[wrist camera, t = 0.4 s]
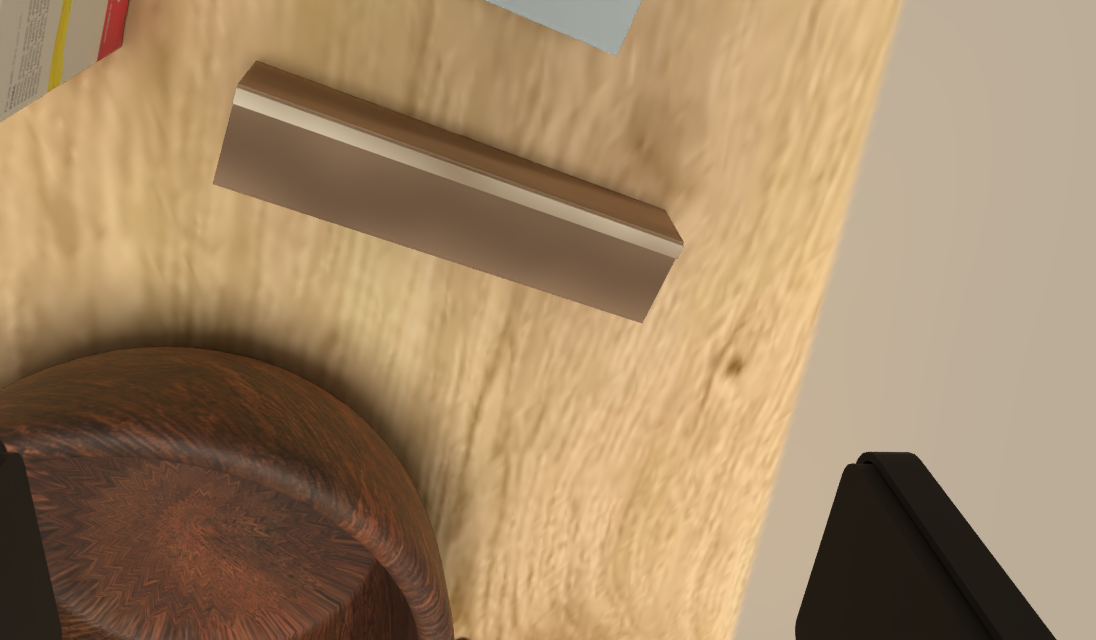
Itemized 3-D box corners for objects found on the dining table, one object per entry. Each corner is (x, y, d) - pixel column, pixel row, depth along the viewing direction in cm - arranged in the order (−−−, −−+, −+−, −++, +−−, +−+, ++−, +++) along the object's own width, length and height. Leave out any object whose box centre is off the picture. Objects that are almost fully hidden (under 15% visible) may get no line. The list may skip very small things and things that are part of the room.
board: (256, 61, 35) (237, 84, 32) (665, 210, 40) (684, 244, 36) (231, 154, 36) (211, 185, 33) (627, 286, 41) (643, 325, 38)
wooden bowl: (281, 200, 38) (231, 316, 29) (531, 578, 50) (551, 743, 41) (-196, 433, 41) (-376, 604, 32) (148, 737, 53) (87, 924, 44)
